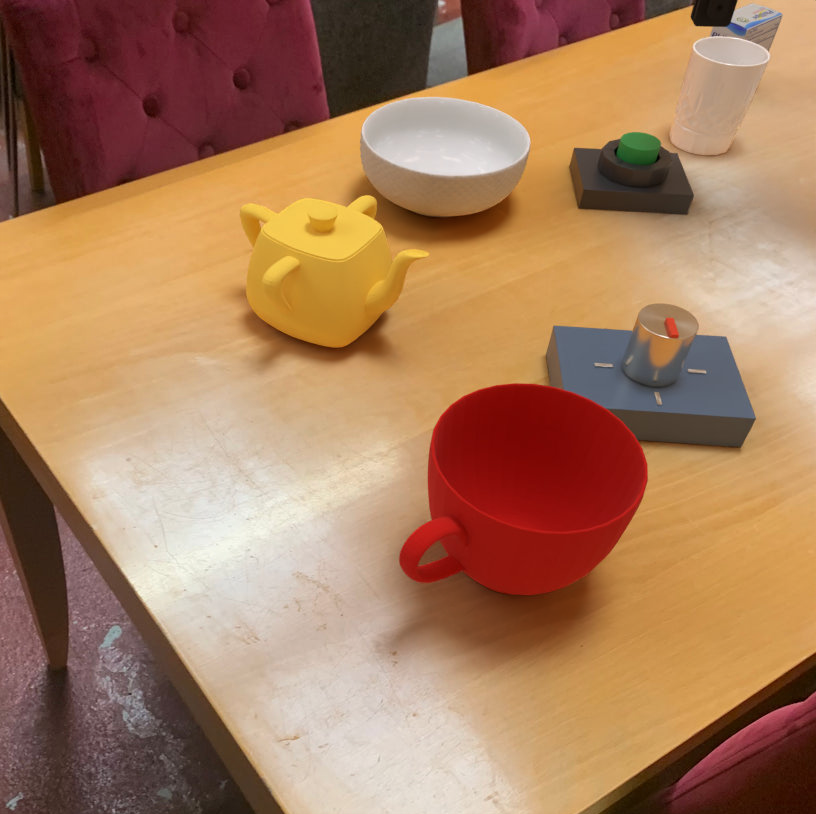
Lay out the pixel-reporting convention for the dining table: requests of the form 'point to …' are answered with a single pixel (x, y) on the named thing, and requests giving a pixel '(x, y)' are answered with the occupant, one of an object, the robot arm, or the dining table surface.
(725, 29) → the medicine box
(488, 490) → the ceramic cup
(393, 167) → the cereal bowl
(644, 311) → the program dial
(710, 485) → the dining table surface
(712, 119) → the white cup
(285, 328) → the teapot
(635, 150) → the button
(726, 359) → the panel
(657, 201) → the button block
